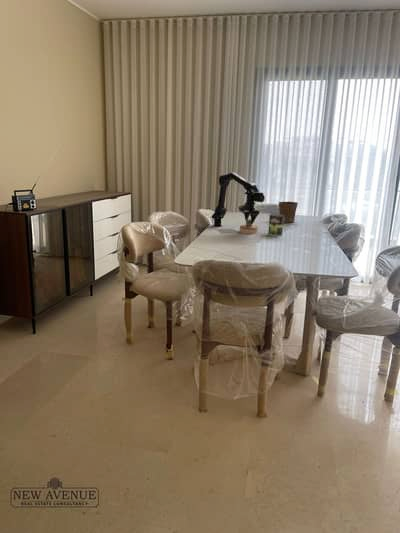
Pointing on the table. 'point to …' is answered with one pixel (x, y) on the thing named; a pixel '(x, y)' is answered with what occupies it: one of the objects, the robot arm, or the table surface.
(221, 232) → the mat
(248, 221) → the lid
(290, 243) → the table surface
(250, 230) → the bowl
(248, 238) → the table surface
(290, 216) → the plant pot
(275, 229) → the coffee can
